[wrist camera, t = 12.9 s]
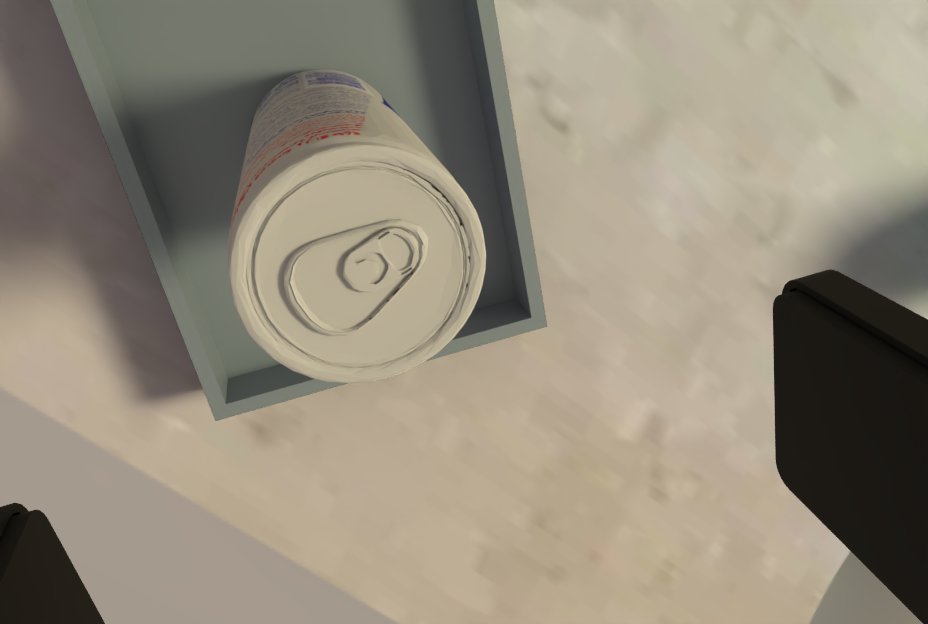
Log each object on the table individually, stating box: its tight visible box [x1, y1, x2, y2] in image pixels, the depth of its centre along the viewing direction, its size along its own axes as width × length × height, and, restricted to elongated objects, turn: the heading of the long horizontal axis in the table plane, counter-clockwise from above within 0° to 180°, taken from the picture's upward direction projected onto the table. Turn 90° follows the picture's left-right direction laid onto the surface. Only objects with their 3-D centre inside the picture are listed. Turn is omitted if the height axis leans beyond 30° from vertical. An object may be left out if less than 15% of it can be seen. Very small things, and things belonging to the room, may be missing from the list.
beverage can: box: [228, 69, 486, 383], centre depth 23 cm, size 6×6×15 cm
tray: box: [50, 0, 547, 421], centre depth 30 cm, size 18×14×3 cm
